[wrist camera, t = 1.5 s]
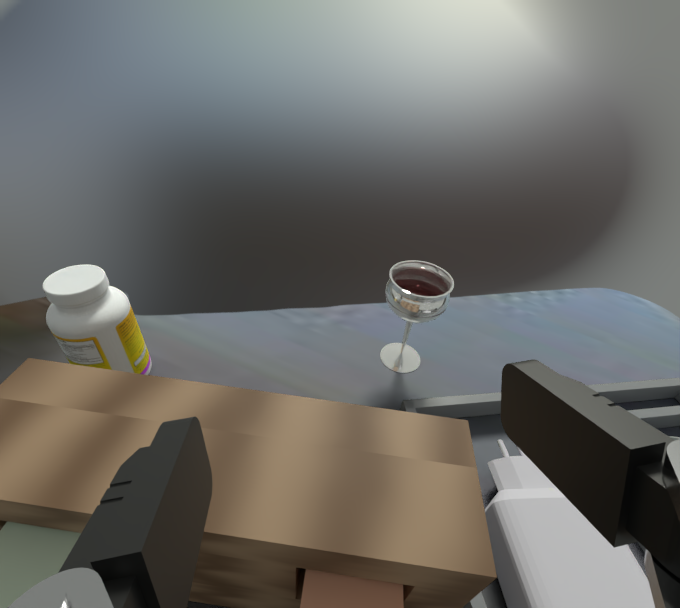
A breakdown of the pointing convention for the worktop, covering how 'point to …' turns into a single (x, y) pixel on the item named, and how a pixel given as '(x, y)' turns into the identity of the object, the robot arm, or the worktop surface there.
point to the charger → (554, 547)
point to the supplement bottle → (94, 321)
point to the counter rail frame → (612, 391)
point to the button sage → (30, 557)
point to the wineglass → (414, 306)
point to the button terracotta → (348, 592)
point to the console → (259, 481)
